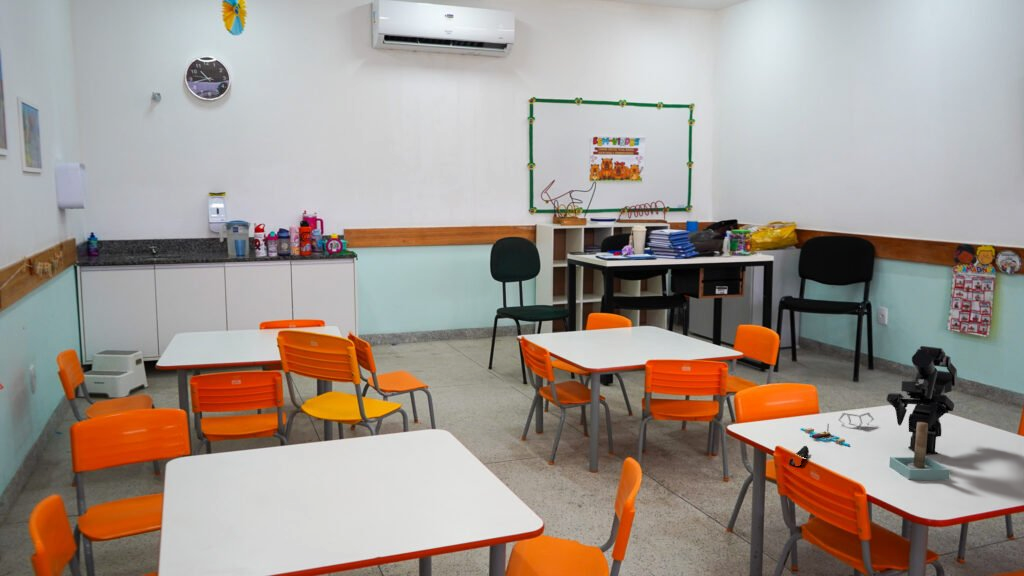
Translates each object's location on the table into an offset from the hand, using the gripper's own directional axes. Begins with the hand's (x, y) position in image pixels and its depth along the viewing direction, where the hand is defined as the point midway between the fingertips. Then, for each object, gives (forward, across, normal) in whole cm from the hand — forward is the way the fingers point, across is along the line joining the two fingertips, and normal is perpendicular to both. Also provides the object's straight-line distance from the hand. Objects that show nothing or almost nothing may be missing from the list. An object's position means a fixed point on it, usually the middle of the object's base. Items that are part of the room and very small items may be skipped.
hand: (913, 426), depth 234 cm
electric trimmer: (+23, -22, -17) cm, 37 cm away
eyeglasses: (-8, -34, +22) cm, 41 cm away
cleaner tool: (+14, +4, +2) cm, 14 cm away
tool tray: (+14, +4, +2) cm, 15 cm away
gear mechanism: (+6, -32, +3) cm, 32 cm away
